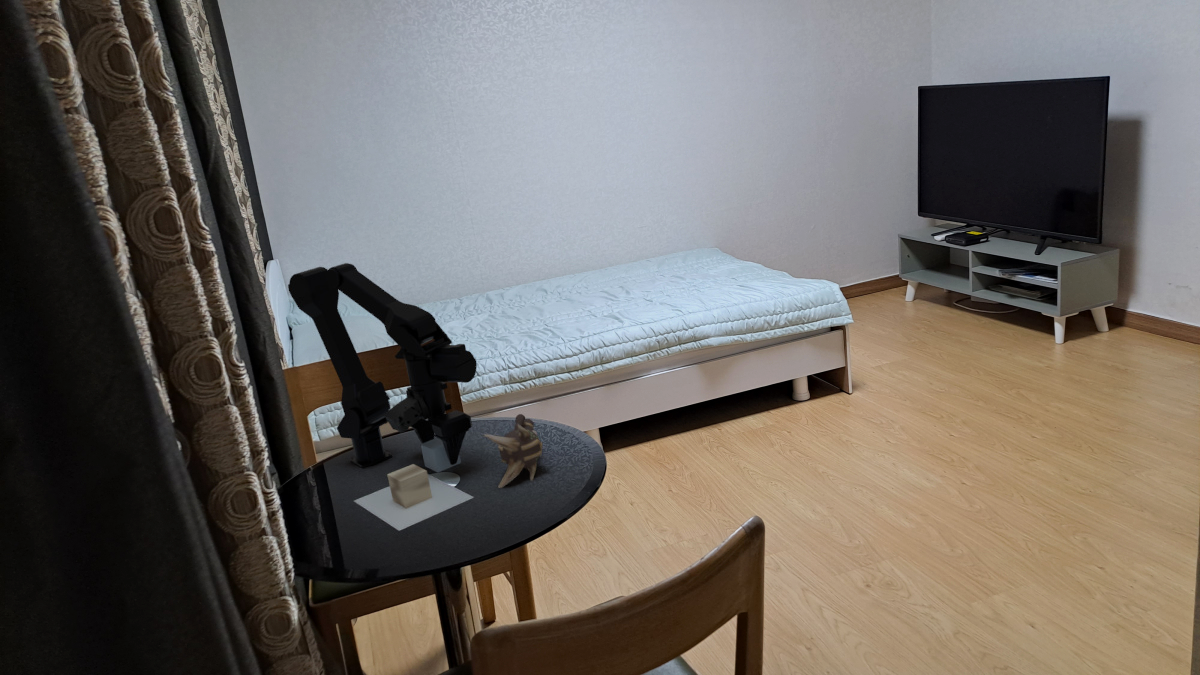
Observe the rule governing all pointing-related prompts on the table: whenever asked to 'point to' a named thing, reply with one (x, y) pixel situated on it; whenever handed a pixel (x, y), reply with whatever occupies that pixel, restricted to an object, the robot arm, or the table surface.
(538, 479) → the table surface
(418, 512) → the board
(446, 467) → the blue block
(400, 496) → the maple block
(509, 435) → the toy
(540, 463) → the table surface
